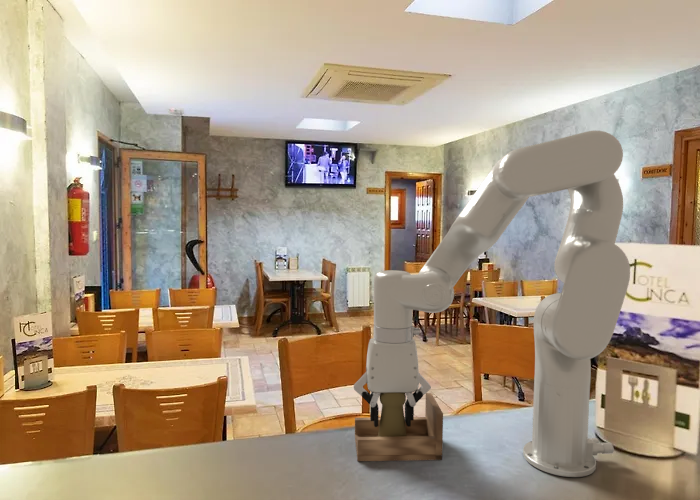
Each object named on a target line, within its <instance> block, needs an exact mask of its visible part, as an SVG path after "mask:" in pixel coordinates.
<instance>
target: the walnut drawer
mask: <svg viewBox="0 0 700 500" xmlns="http://www.w3.org/2000/svg"><path fill="white" fill-rule="evenodd" d="M424 412H425V413H424V415H425V416H414V420H411V427H408V426H407V425H406V422H405V426H406V435H407V436H403V437H378V432H379V425H380V418H381V416H380V417H379V416H378V426H377V427H375V426H374V421H371V420H370V417H354V441H355V452H356V461H357V462H391V461H393V462H394V461H396V462H397V461H403V462H404V461H405V462H406V461H442V460H443V442H444V441H443V440H444V439H443V435H444V434H443V433H444V411H442V409H441V406H439V404H438V402H437V400H436V399H435V396H434V395H433V393H432V392H429V393H428V392H427V393H426V394H425V411H424ZM404 418H405V416H404Z"/></svg>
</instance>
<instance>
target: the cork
mask: <svg viewBox="0 0 700 500" xmlns="http://www.w3.org/2000/svg"><path fill="white" fill-rule="evenodd" d="M406 400H407V396H406V393H380V395H379V401H380V403H381V409H380V411H381V413H380V414H381V415H380V417H381V418H380V425H379V432H378V437H403V436H407V435H406V426H405V418H404V417H405V409H404V406H405V402H406Z"/></svg>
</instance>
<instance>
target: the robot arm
mask: <svg viewBox="0 0 700 500" xmlns="http://www.w3.org/2000/svg"><path fill="white" fill-rule="evenodd" d="M623 157H624V152H623V147H622V145H621V143H620V141H619V139H617V137H615V136H614V135H613V134H612V133H610V132H607V131H604V130H603V131H602V130H588V131H584V132H580V133H576V134H572V135H567V136H564V137H560V138H557V139H553V140H549V141H545V142H541V143H540V142H539V143H537V144H532V145H527V146H523V147H518V148H515V149H513V150H511V151H509V152H507V153H506V154H505V155H503V156H502V157H501V158H500V159H498V160H497V162H495V164H494V165H493V166H492V168H491V169H490V171H489V172H488V174H487V175H486V176H485V178H484V179H483V181H482V182H481V184H480V185H479V187H478V188H477V190H476V191H475V192H474V193H473V195H472V196H471V197H470V199H469V201H468V202H467V203H466V204H465V205H464V208H463V209H462V210H461V212H460V213H459V214H458V216H457V217H456V219H455V220H454V222H453V223H452V224H451V226H450V228H449V229H448V232H447V233H446V234H445V236H444V237H443V239H442V240H441V241H440V243H439V244H438V245H437V247H436V249H435V250H434V251H433V252H432V253H431V255H430V257H429V258H428V259H427V261H426V262H425V263H424V264H423V266H422V268H421V269H420V270H419V272H418V273H417V274H411V273H410V272H409V271H404V270H395V269H394V270H391V269H389V270H387V269H386V270H381V271H378V272H377V273H375V275H374V279H373V337H372V338H370V339H369V340H368V341H369V342H368V345H367V354H366V364H365V365H366V366H365V372H364V373H363V374H362V375H361V377H360V378H359V379H358V380H357V381H356V382H355V383H354V384H353V389H354V391H355V392H356V393H357V394H358V395H360V396H361V397H362V399H363V400H364V401H365V402H367V404H369V407H370V408H369V411H370V413H369V415H370V416H369V418H370V420H371V421H374V426H375V427H377V426H378V417H379V405H378V401H379V399H380V393H405V395H406V401H405V403H404V417H405V422H406V425H407V426H408V427H411V420H414V417H415V415H414V414H415V412H414V411H415V410H414V409H415V406H416V405H417V403H418V402H419V401H420V400H421V399H422V398H423V396H424V395H426V393H428V392H429V391H430V390H431V389H432V386H431V385H430V383H429V382H428V380H426V379H425V378H424V376H423V375H422V374H421V373H420V372H419V359H418V350H417V344H416V340H415V339H414V337H415V336H420V330H421V329H420V328H419V327H414V325H413V312H414V311H420V312H425V313H429V314H430V313H431V314H433V313H434V314H435V313H441V312H443V311H445V310H447V309H448V308H449V307H450V306H451V304H453V302H454V301H453V300H454V298H455V289H454V287H455V285H456V284H457V283H458V281H459V280H460V278H461V277H462V276H463V275H464V273H465V272H466V270H468V268H469V267H470V265H472V264H473V262H474V261H475V260H476V259H477V258H478V257H480V256H481V255H482V254H484V253H485V252H487V251H488V250H489V249H491V248H492V247H493V246H494V245H495V244H496V243H497V242H498V240H499V239H500V238H501V237H502V235H503V234H504V232H505V231H506V229H507V228H508V226H509V225H510V224H511V222H512V221H513V219H514V218H515V217H516V216H517V214H518V213H519V211H520V210H521V209H522V208H523V206H524V205H525V204H526V202H527V201H528V199H529V198H531V197H536V196H540V195H547V194H553V193H556V192H560V191H564V190H567V191H568V194H569V198H570V206H569V212H568V216H567V217H568V218H567V221H566V225H565V228H564V231H563V234H562V238H561V241H560V244H559V246H558V247H559V248H558V250H557V253H556V256H555V260H554V272H555V274H556V276H557V278H558V279H559V281H561V282H562V283H563V285H562V289H561V292H557V293H553V294H550V295H548V296H546V297H544V298H543V299H542V300H541V301H540V302H539V304H538V305H537V306H536V309H535V311H534V315H533V337H534V376H533V378H534V379H533V382H534V383H533V409H532V432H531V433H532V435H531V436H532V437H531V441H528V442H527V443H525V444H524V446H523V448H522V449H523V450H522V451H523V452H522V454H523V457H524V459H525V461H527V462H528V463H529V464H530V465H531V466H533V467H534V468H536V469H538V470H541V471H542V472H544V473H548V474H551V475H555V476H560V477H567V478H582V477H586V476H589V475H591V474H593V473H594V472H595V471H596V469H597V462H596V461H597V460H596V458H595V457H594V456H597V455H598V454H603V455H604V454H607V455H608V454H610V455H612V454H614V453H615V452H614V451H615V448H614V445H613V444H612V443H611V442H600V440H599V438H597V437H590V438H589V415H590V414H589V413H590V394H591V393H590V390H591V375H592V374H591V371H592V370H591V368H592V367H591V365H592V363H591V359H593V358H595V357H598V356H599V355H600V354H602V352H603V351H604V350H605V349H607V346H608V345H609V343H610V342H611V339H612V337H613V335H614V331H615V329H616V325H617V322H618V320H619V317H620V313H621V310H622V308H623V307H622V306H623V304H624V300H625V299H626V294H627V292H628V287H629V286H630V281H631V266H630V262H629V259H628V256H627V255H626V253H625V252H624V250H623V249H622V248H621V247H620V246H618V245H617V244H616V241H617V238H618V233H619V229H620V225H621V221H622V217H623V212H624V211H623V210H624V197H623V195H624V194H623V192H622V189H621V188H622V187H621V185H620V183H619V180H618V179H617V176H616V175H615V173H616V172H617V171H618V170H619V168H620V167H621V165H622V163H623ZM365 385H367V389H365V388H364V386H365ZM419 385H420V386H419Z"/></svg>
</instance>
